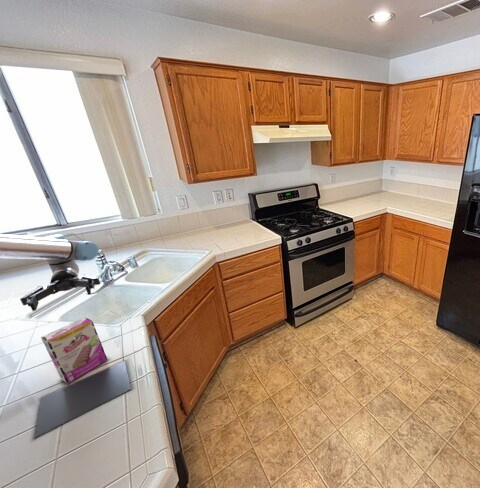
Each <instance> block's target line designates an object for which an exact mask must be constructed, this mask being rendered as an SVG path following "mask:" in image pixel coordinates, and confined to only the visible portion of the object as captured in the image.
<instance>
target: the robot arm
mask: <svg viewBox="0 0 480 488" xmlns="http://www.w3.org/2000/svg"><path fill="white" fill-rule="evenodd" d="M98 255H99V246H98V245H97V243H95V242H93V241H88V240H74V239H73V240H71V239H67V238H66V237H65V235H63V234H53V235H47V236H44V237H39V236H38V237H37V236H26V235H14V234H2V233H0V259H10V260H11V259H14V260H15V259H16V260H17V259H18V260H19V259H20V260H46V261H47V263H48V265H49V268H50V270H51V273H52V275H51V278H50V282H49V284H48V285H46V286H43V285H38V286H37V287H36V288H35V289H34V290H32V291H30V292H29V293H26V295H24V296H23V297H20V298H19V300H20V302H21V304H22V306H28V307H30V309H31V310H32V312H34V311H37V309H38V305H39V303H40V302H39V301H41V300H44V299H45V298H47V297H49V296H51V295H55V294H57V293H60V292H67V291H71V290H73V289H77V288H85V291H86V294H87V295H91V294H92V289H95V285H96V286H99V285H100V284H101V282H100V281H101V280H100V278H99V277H97V276H91V275H88V274H82V276H81V277H79V272H80V267H79V264H77V263H76V261H83V262H84V261H85V262H86V261H91V260H94V259H95V258H96V257H97V256H98Z"/></svg>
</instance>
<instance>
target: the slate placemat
mask: <svg viewBox="0 0 480 488" xmlns="http://www.w3.org/2000/svg"><path fill="white" fill-rule="evenodd" d="M131 390H132V387H131V383H130V378H129V374H128V369H127V365H126V360H123V361H121V362H118V363H117V364H114V365H112V366H110V367H107V368H105V369H103V370H100V371H98V372H96V373H94V374H91V375H89V376H87V377H85V378H82V379H80V380H78V381H76V382H74V383H71V384H68V385H66V386H64V387H62V388H60V389H58V390H55V391H53V392H51V393H49V394H47V395H44V396H42V397H41V399H40V405H39V410H38V415H37V421H36V428H35V433H34V439H37V438H38V437H40V436H43V435H44V434H46V433H48V432H50V431H53V430H54V429H56V428H58V427H60V426H62V425H64V424H66V423H68V422H70V421H72V420H74V419H76V418H78V417H80V416H83V415H84V414H86V413H88V412H90V411H92V410H94V409H96V408H99V407H100V406H102V405H104V404H106V403H108V402H110V401H112V400H113V399H116V398H118V397H120V396H121V395H123V394H125V393H128V392H130V391H131Z"/></svg>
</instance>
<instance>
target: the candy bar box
mask: <svg viewBox="0 0 480 488" xmlns="http://www.w3.org/2000/svg"><path fill="white" fill-rule="evenodd" d="M40 338H41V341H42V343H43V345H44V347H45V349H46V351H47V352H48V355H49V357H50V360H51V362H52V363H53V365H54V368H55V370H56V372H57V374H58V376H59V378H60V379H61V381H63V382H65V383H66V384H67V385H70V383H71V384H72V382H74V381H76V380H77V379H79V378H81V377H82V376H84V375H85V374H87V373H89V372H90V371H92V370H94V369H95V368H98V367H99V366H101V365H102V364H104V363H105V362H107V361H108V357H107V354H106V352H105V349H104V347H103V344H102V342H101V340H100V337H99V334H98V332H97V329H96V326H95V324H94V321H93V320H92V319H90V318H88V317H85V316H84V317H82V318H80V319H79V320H76V321H74V322H71V323H69V324H67V325H64V326H63V327H60V328H58V329H55V330H54V331H52V332H50V333H47V334H45V335H42V336H40Z"/></svg>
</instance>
